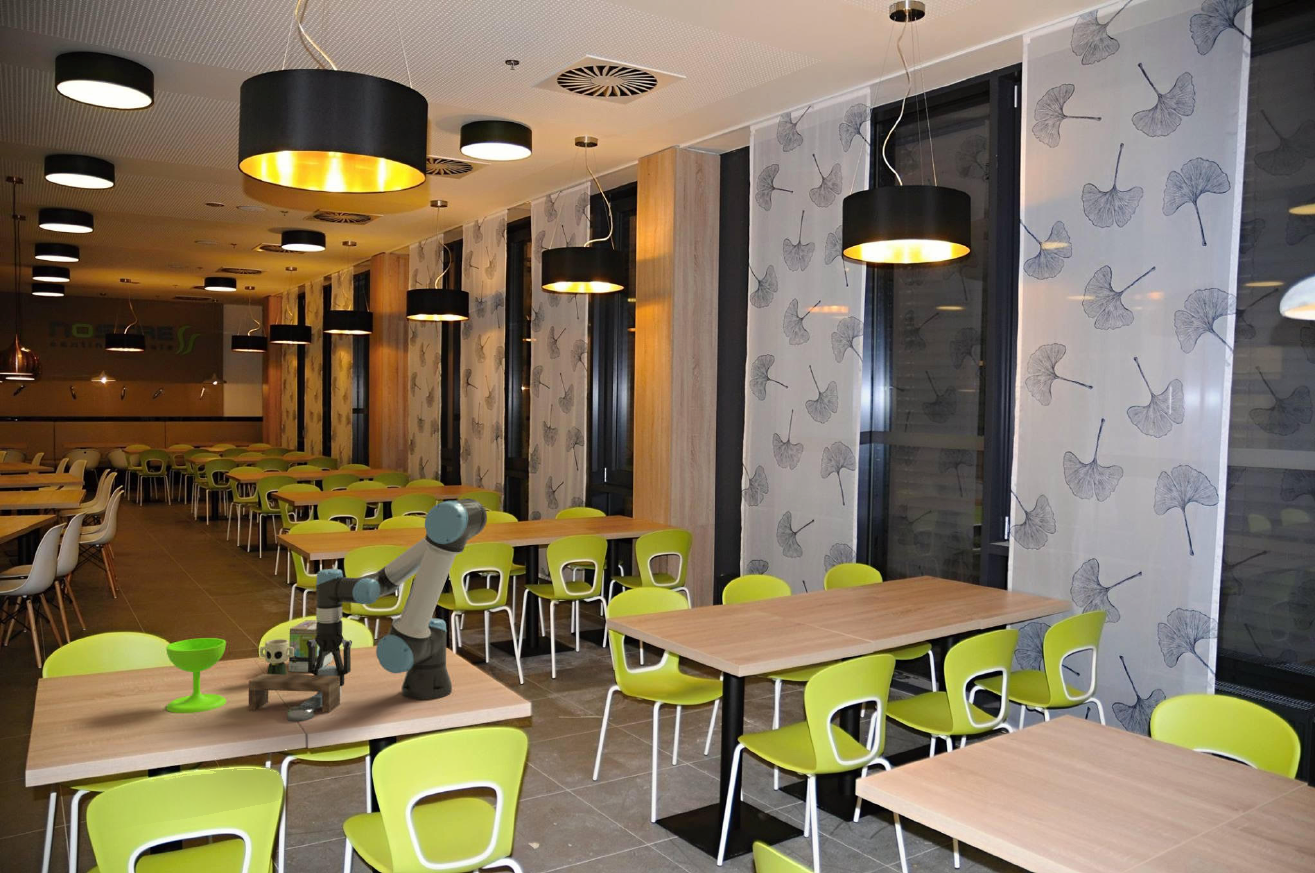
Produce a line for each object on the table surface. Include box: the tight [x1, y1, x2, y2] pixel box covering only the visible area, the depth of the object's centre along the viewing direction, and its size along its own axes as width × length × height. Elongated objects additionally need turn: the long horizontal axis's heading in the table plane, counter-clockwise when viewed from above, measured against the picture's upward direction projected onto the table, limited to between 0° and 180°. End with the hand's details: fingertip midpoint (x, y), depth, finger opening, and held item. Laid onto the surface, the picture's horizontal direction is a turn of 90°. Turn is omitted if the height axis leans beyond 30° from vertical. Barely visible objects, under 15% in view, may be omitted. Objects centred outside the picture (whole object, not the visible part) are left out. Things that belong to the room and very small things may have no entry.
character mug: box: [259, 638, 294, 675], centre depth 305 cm, size 11×7×13 cm, turn 90°
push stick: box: [300, 665, 338, 712], centre depth 282 cm, size 18×5×9 cm, turn 176°
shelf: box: [248, 673, 341, 713], centre depth 278 cm, size 24×8×8 cm, turn 86°
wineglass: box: [165, 637, 227, 714], centre depth 280 cm, size 16×16×18 cm
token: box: [286, 705, 315, 723], centre depth 269 cm, size 7×7×2 cm
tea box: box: [288, 619, 334, 673], centre depth 324 cm, size 15×10×15 cm
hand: (329, 696), depth 289 cm, fingers closed on push stick, 5 cm apart
